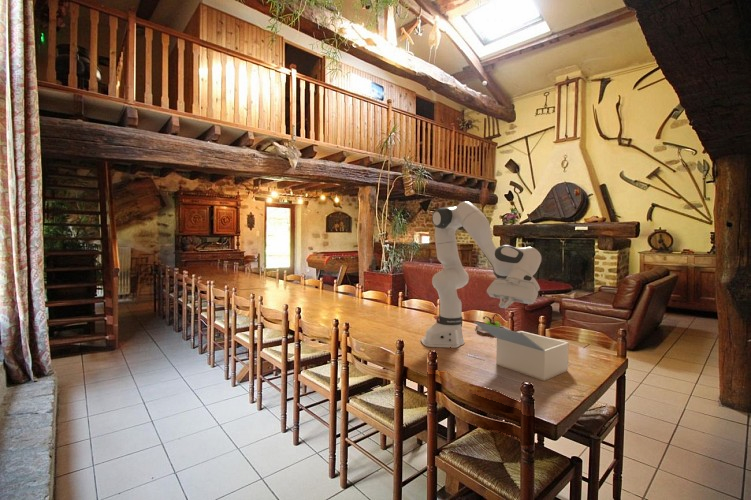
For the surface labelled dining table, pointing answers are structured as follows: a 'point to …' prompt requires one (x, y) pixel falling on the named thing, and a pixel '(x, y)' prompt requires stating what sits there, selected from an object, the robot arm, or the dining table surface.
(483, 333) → the succulent planter
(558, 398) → the dining table surface
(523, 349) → the shipping carton
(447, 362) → the dining table surface
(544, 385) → the dining table surface
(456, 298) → the robot arm
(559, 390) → the dining table surface
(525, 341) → the carton flap
